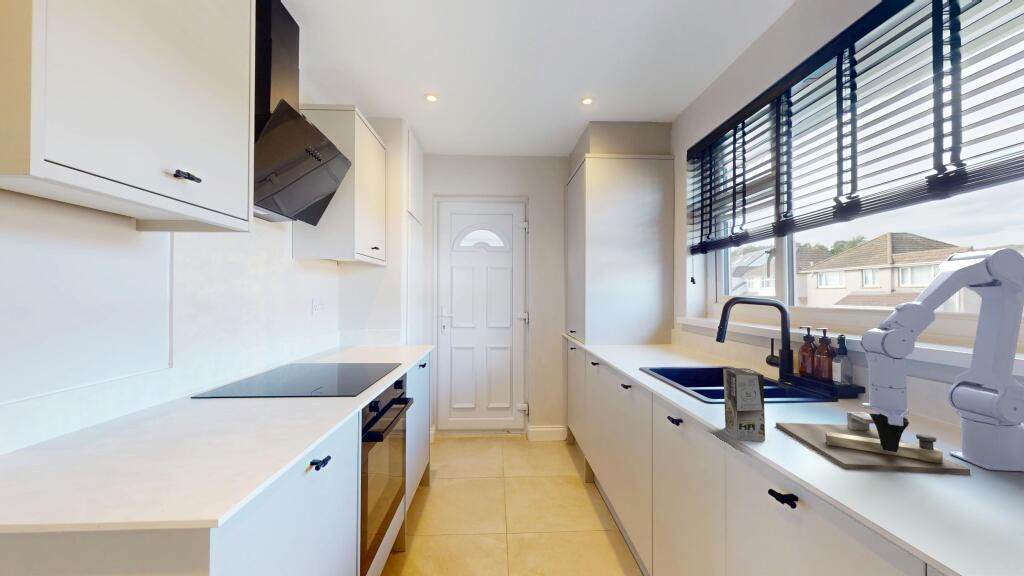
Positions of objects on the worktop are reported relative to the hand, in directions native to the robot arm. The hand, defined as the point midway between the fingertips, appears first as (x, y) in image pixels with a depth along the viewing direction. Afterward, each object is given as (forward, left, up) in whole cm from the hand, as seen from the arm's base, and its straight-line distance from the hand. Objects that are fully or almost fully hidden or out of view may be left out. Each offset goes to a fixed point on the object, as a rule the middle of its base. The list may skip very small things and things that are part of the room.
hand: (889, 450), depth 80 cm
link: (0, -2, -1) cm, 2 cm away
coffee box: (+23, -13, -2) cm, 26 cm away
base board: (+1, -8, -2) cm, 8 cm away
